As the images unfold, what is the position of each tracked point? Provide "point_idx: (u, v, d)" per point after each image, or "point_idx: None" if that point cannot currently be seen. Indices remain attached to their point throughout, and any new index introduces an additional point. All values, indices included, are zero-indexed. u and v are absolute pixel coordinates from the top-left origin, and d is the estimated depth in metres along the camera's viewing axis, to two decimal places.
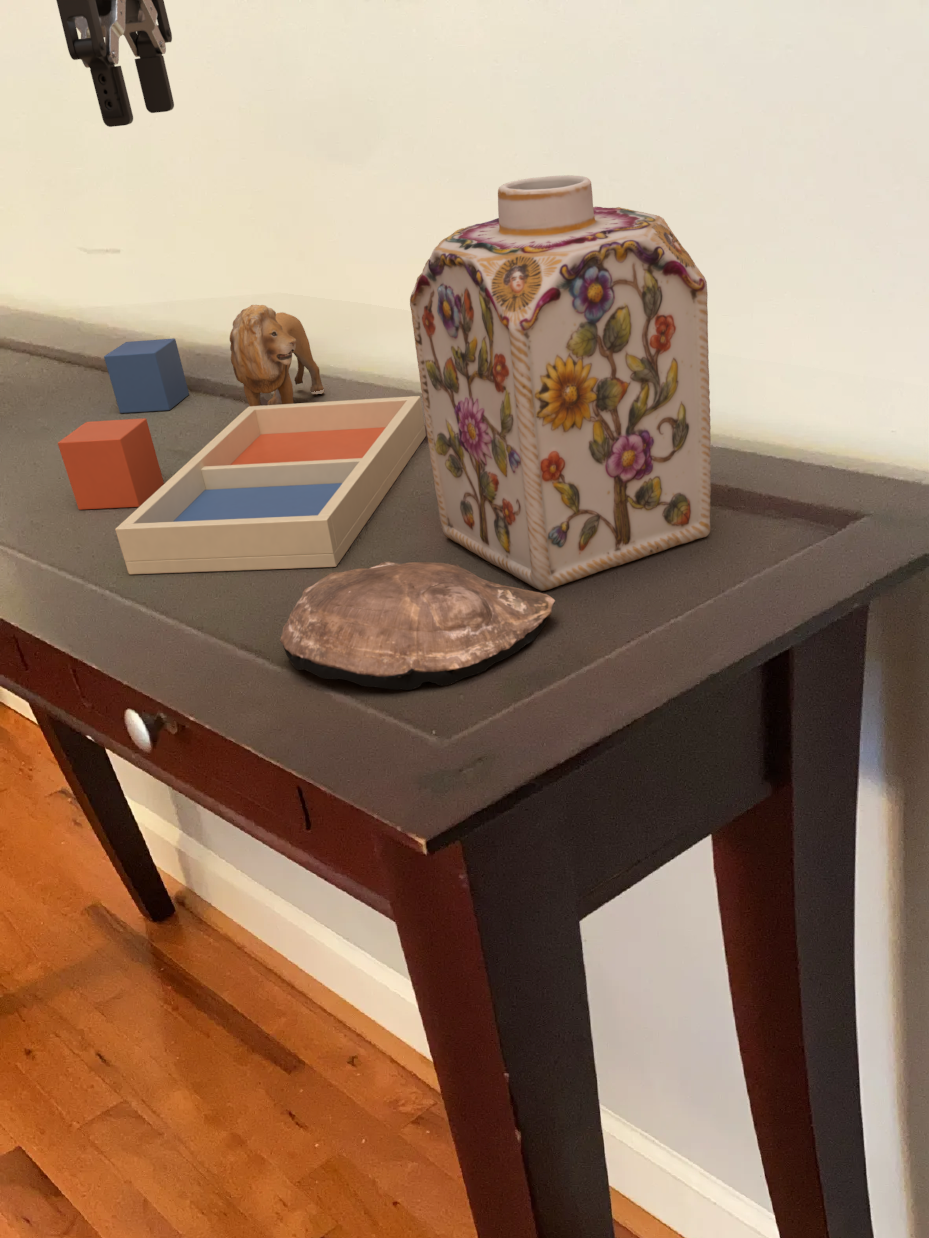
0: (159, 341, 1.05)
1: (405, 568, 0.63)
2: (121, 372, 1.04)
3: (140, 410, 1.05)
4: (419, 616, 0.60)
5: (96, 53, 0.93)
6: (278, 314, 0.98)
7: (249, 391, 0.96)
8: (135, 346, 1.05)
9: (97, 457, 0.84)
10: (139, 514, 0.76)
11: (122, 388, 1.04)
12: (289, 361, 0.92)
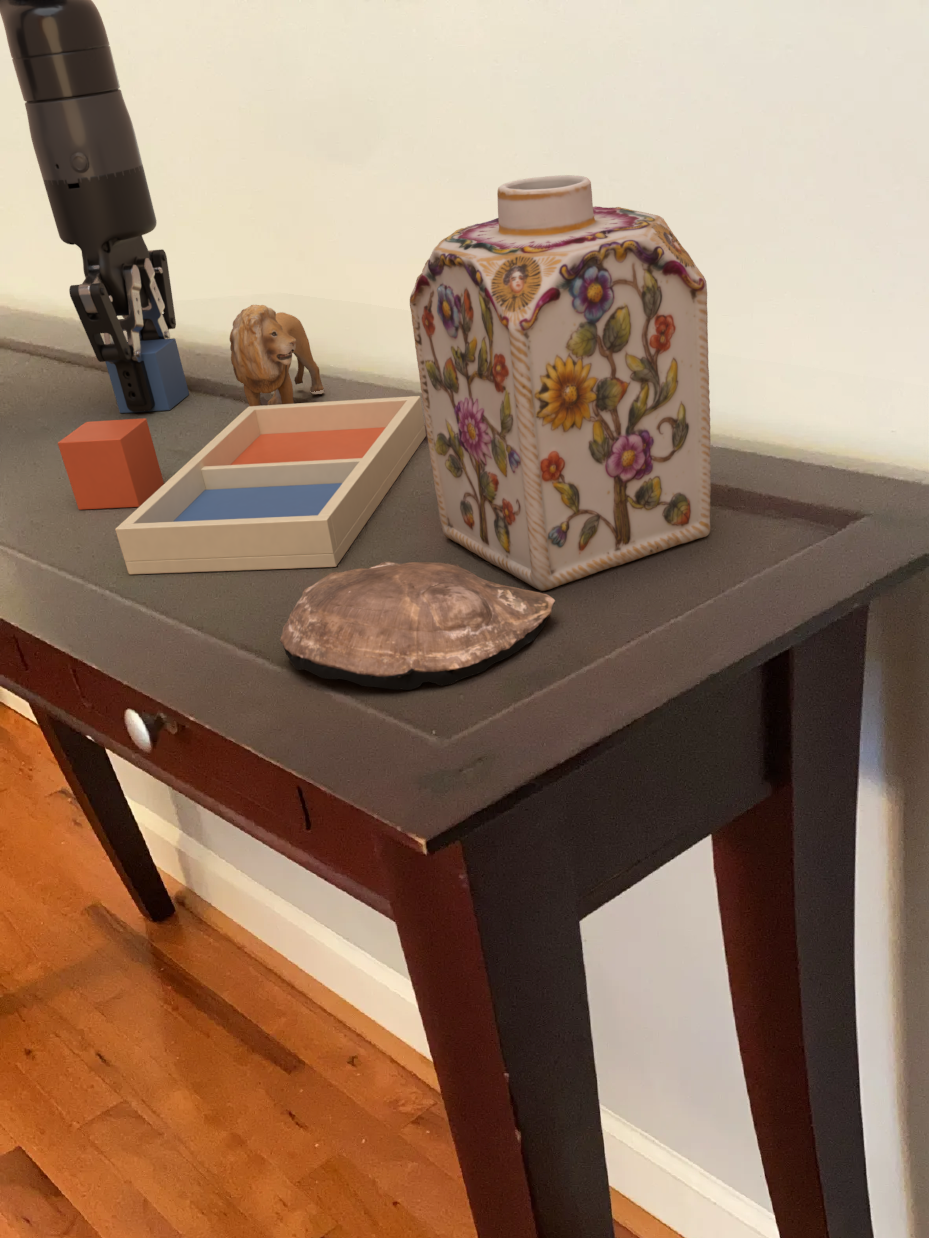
0: (159, 341, 1.05)
1: (405, 568, 0.63)
2: None
3: None
4: (419, 616, 0.60)
5: (121, 357, 1.00)
6: (278, 314, 0.98)
7: (249, 391, 0.96)
8: None
9: (97, 457, 0.84)
10: (139, 514, 0.76)
11: None
12: (289, 361, 0.92)
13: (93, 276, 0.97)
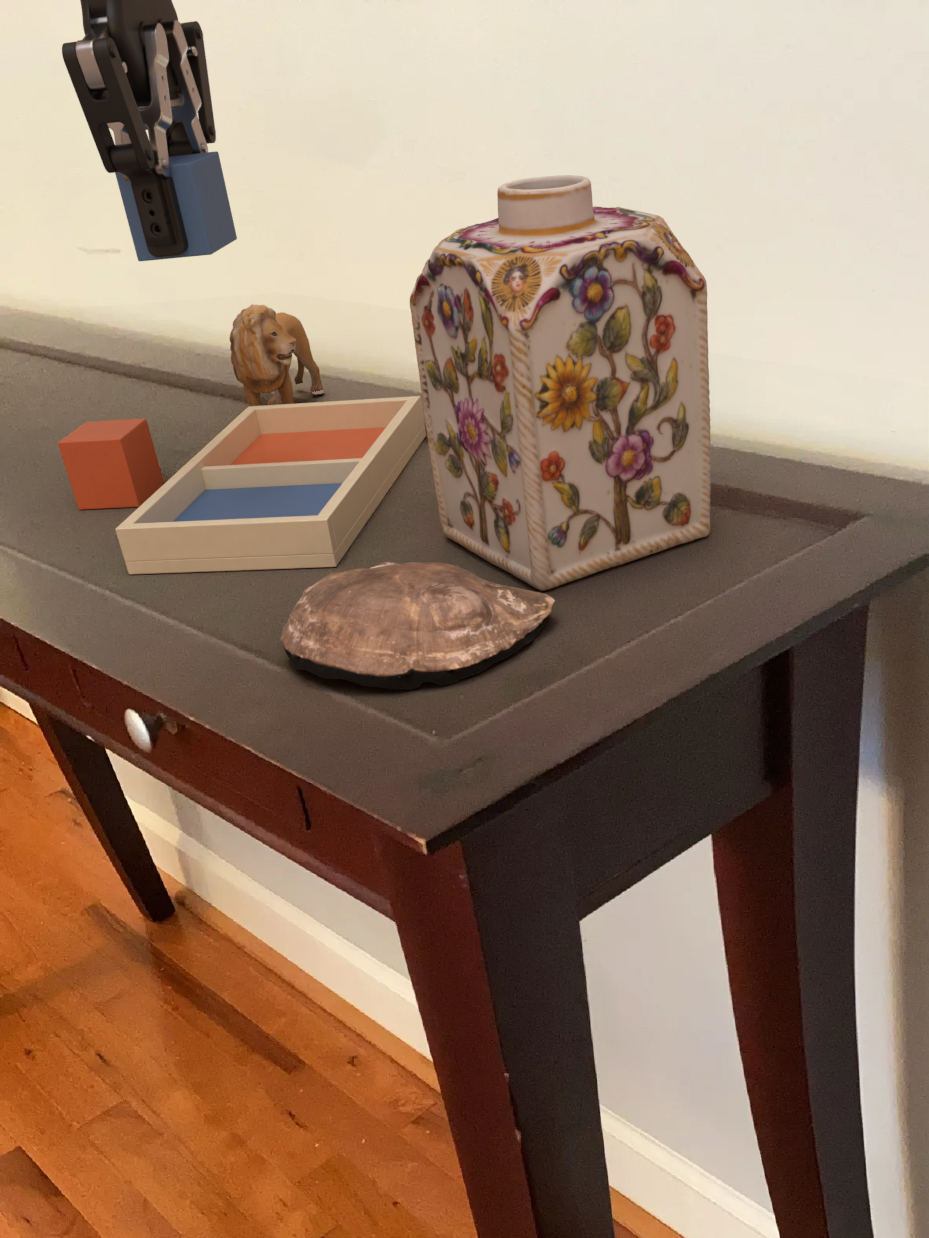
0: (195, 155, 0.72)
1: (405, 568, 0.63)
2: None
3: None
4: (419, 616, 0.60)
5: (141, 164, 0.67)
6: (278, 314, 0.98)
7: (249, 391, 0.96)
8: None
9: (97, 457, 0.84)
10: (139, 514, 0.76)
11: None
12: (289, 361, 0.92)
13: (98, 31, 0.64)
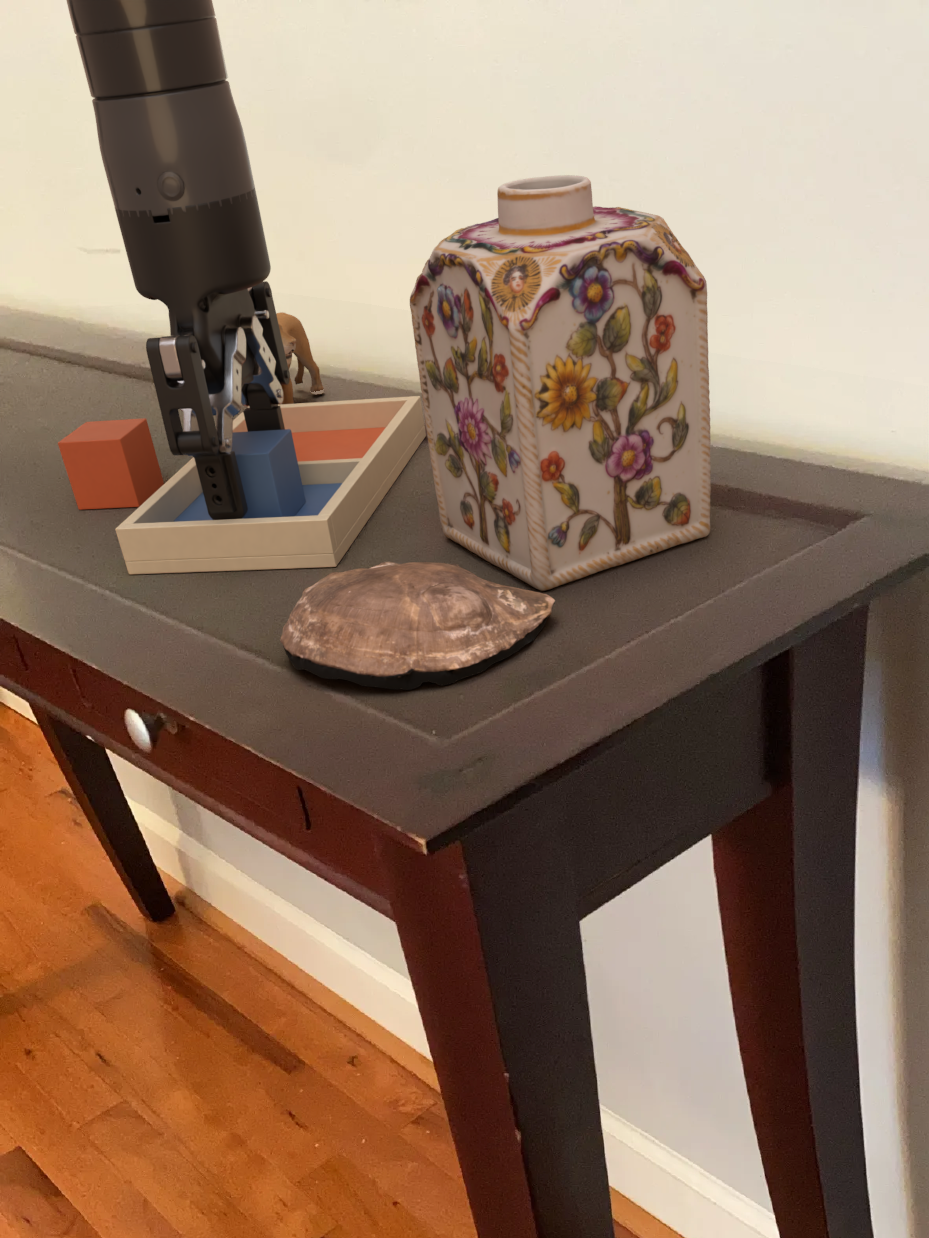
0: (269, 433, 0.77)
1: (405, 568, 0.63)
2: None
3: None
4: (419, 616, 0.60)
5: (206, 451, 0.70)
6: (278, 314, 0.98)
7: None
8: (237, 441, 0.76)
9: (97, 457, 0.84)
10: (139, 514, 0.76)
11: None
12: (289, 361, 0.92)
13: (183, 333, 0.68)
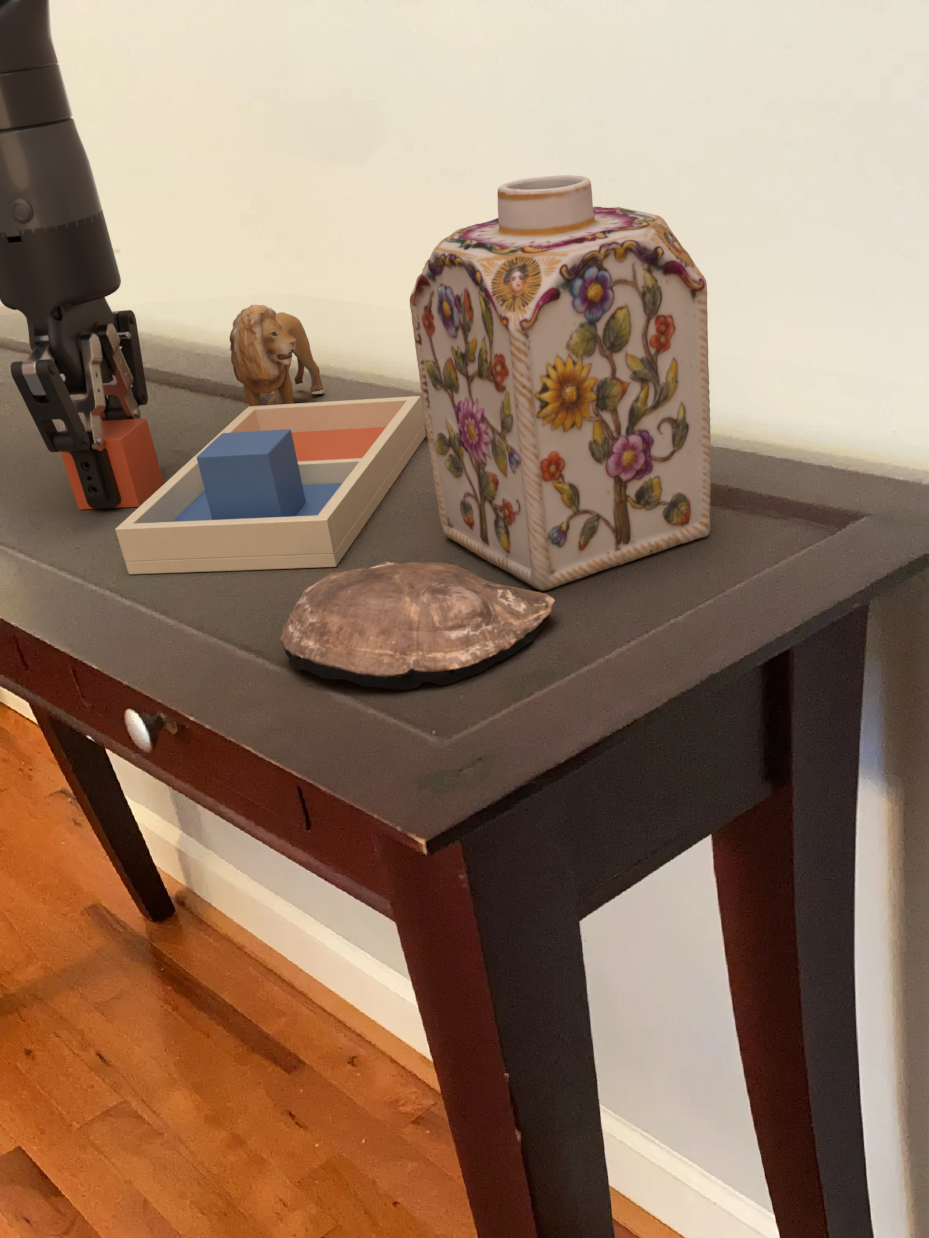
0: (269, 433, 0.77)
1: (405, 568, 0.63)
2: (220, 477, 0.75)
3: None
4: (419, 615, 0.60)
5: (78, 448, 0.81)
6: (278, 314, 0.98)
7: (249, 391, 0.96)
8: (237, 441, 0.76)
9: None
10: (139, 514, 0.76)
11: (220, 499, 0.76)
12: (289, 361, 0.92)
13: (41, 350, 0.78)
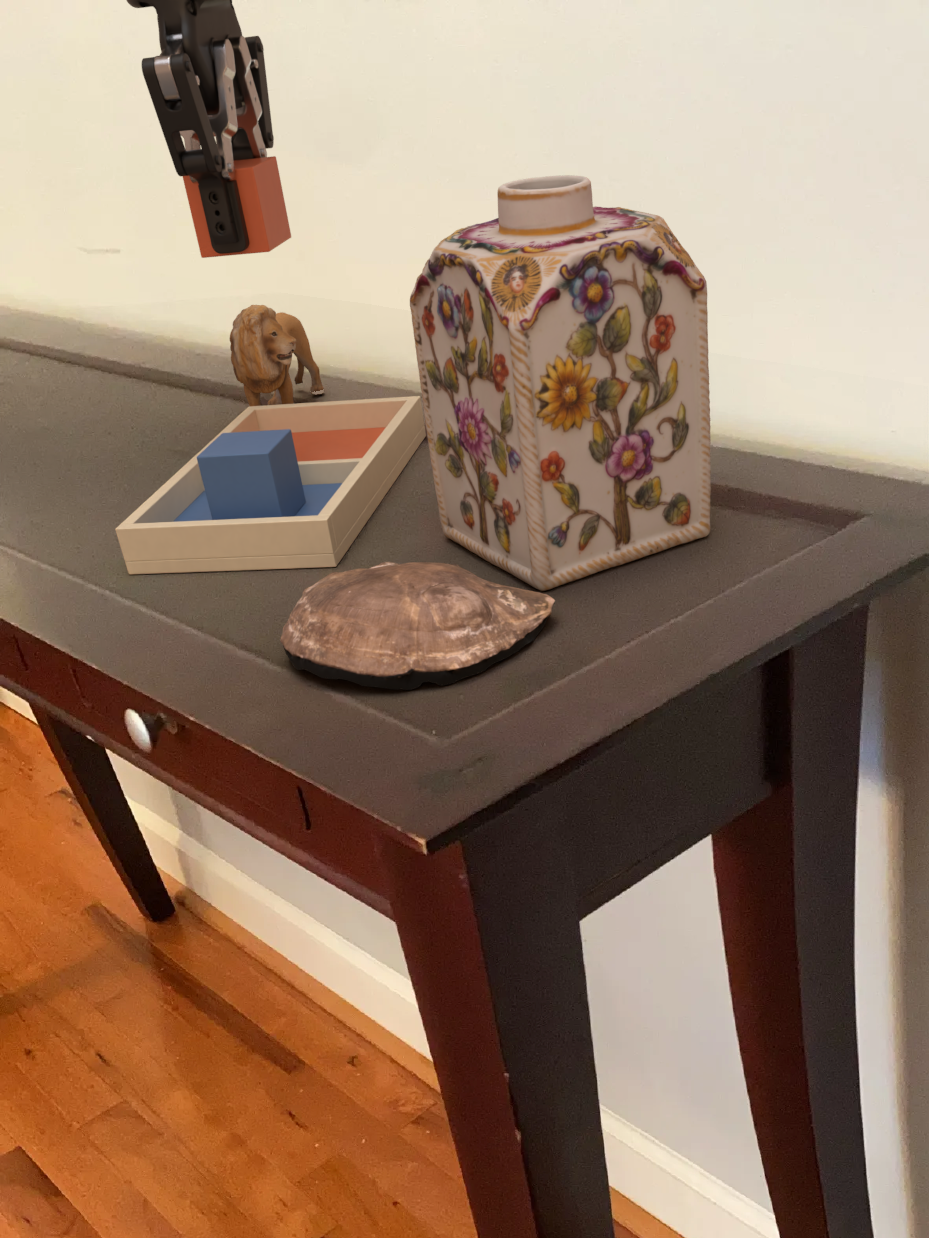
0: (269, 433, 0.77)
1: (405, 568, 0.63)
2: (220, 477, 0.75)
3: None
4: (419, 616, 0.60)
5: (209, 168, 0.73)
6: (278, 314, 0.98)
7: (249, 391, 0.96)
8: (237, 441, 0.76)
9: None
10: (139, 514, 0.76)
11: (220, 499, 0.76)
12: (289, 361, 0.92)
13: (174, 47, 0.70)
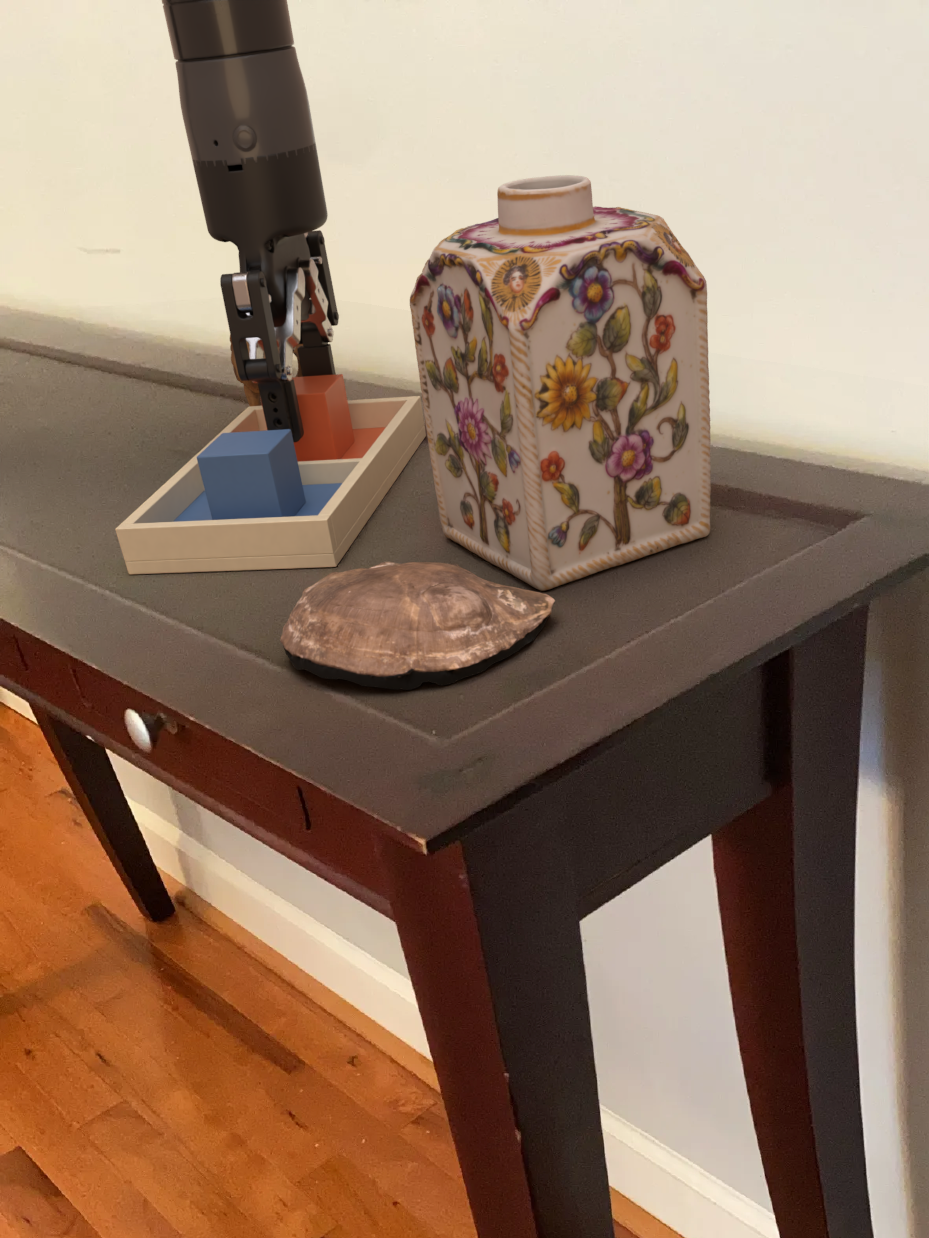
0: (269, 433, 0.77)
1: (405, 568, 0.63)
2: (220, 477, 0.75)
3: None
4: (419, 615, 0.60)
5: (271, 376, 0.78)
6: None
7: (249, 391, 0.96)
8: (237, 441, 0.76)
9: None
10: (139, 514, 0.76)
11: (220, 499, 0.76)
12: None
13: (252, 271, 0.77)
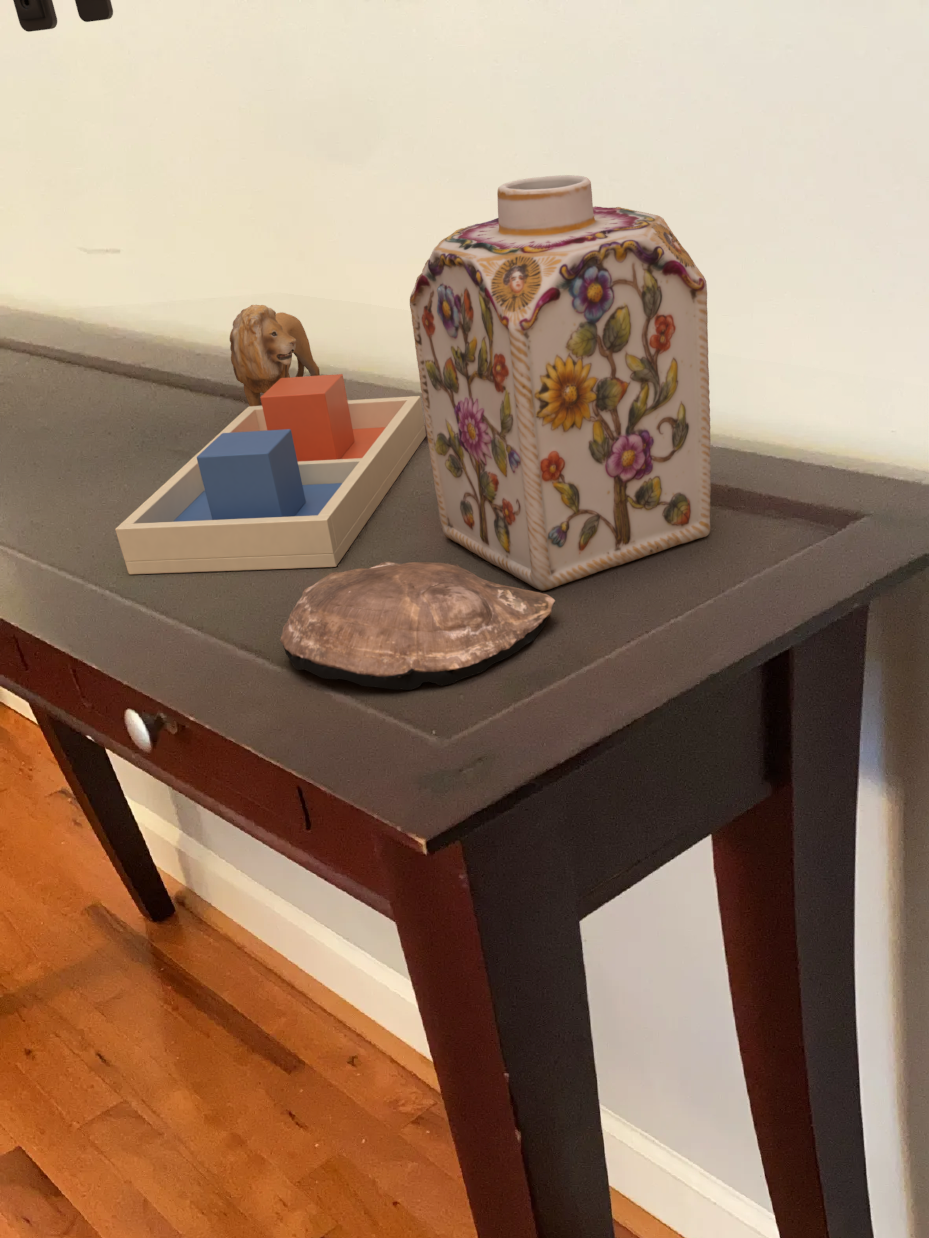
0: (269, 433, 0.77)
1: (405, 568, 0.63)
2: (220, 477, 0.75)
3: None
4: (419, 616, 0.60)
5: None
6: (278, 314, 0.98)
7: (249, 391, 0.96)
8: (237, 441, 0.76)
9: (299, 412, 0.84)
10: (139, 514, 0.76)
11: (220, 499, 0.76)
12: (289, 361, 0.92)
13: None
